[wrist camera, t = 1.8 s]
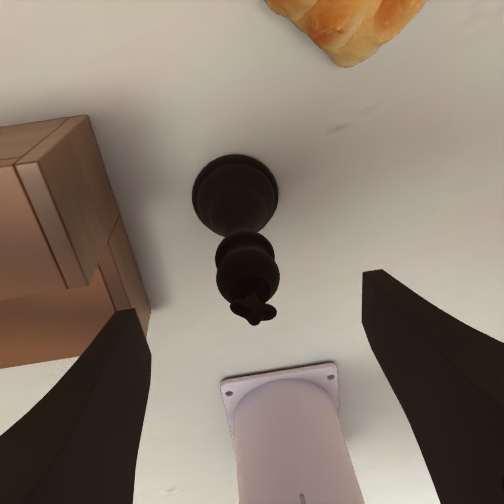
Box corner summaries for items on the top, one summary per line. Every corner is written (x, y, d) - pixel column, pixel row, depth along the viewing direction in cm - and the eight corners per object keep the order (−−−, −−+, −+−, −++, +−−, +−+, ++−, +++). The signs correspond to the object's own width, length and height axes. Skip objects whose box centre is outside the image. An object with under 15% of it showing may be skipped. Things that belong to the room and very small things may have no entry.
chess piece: (203, 143, 20) (202, 248, 11) (289, 167, 21) (347, 279, 12) (183, 223, 22) (169, 363, 13) (262, 240, 23) (296, 382, 14)
